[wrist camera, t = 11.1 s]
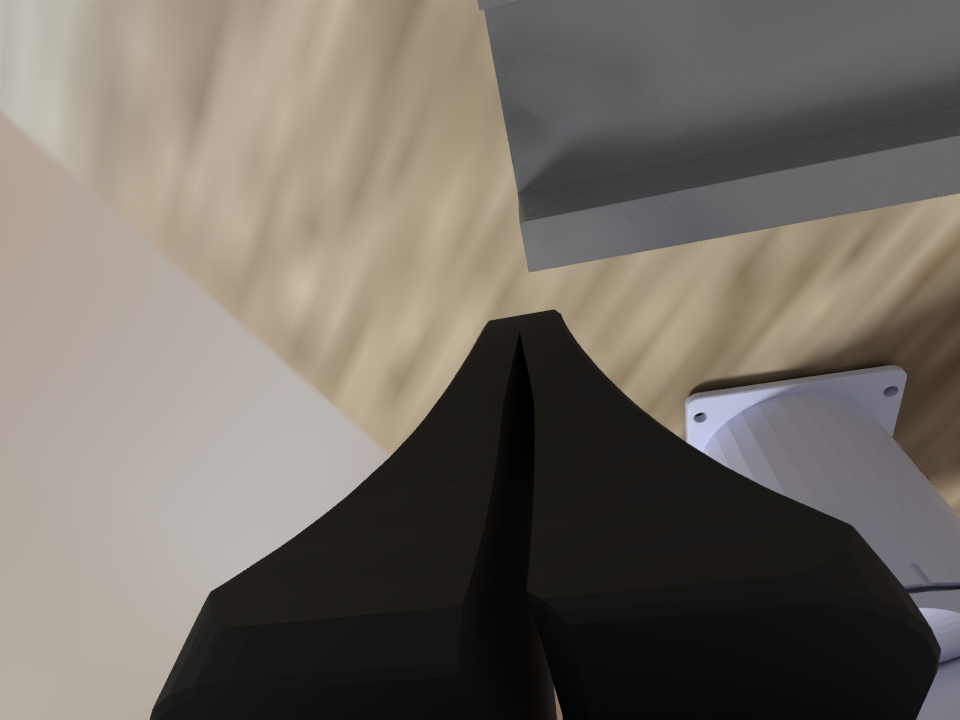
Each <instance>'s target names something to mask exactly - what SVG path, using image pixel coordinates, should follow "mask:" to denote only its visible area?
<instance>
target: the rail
mask: <svg viewBox="0 0 960 720" xmlns="http://www.w3.org/2000/svg"><path fill="white" fill-rule="evenodd" d="M478 4H479V10H482V9H484V12H485V17H486V22H487V28H488V33H489V39H490V44H491V49H492V55H493V60H494V66H495V71H496V77H497V82H498V87H499V93H500V98H501V104H502V109H503V114H504V120H505V125H506V131H507V136H508V141H509V147H510V152H511V158H512V163H513V169H514V174H515V179H516V185H517V190H518V201H519V220H520V227H521V232H522V238H523V243H524V248H525V254H526V259H527V264H528V269H529V272H534V271H539V270H545V269H550V268H556V267H561V266H566V265H572V264H577V263H583V262H588V261H594V260H599V259H604V258H610V257H615V256H621V255H626V254H632V253H637V252H643V251H648V250H653V249H659V248H664V247H670V246H675V245H681V244H686V243H692V242H697V241H702V240H708V239H713V238H719V237H724V236H730V235H735V234H740V233H746V232H751V231H757V230H762V229H768V228H773V227H779V226H784V225H789V224H795V223H800V222H806V221H811V220H817V219H822V218H828V217H833V216H838V215H844V214H849V213H855V212H860V211H866V210H871V209H876V208H882V207H887V206H893V205H898V204H904V203H909V202H915V201H920V200H925V199H931V198H936V197H942V196H947V195H953V194H958V193H960V0H478Z"/></svg>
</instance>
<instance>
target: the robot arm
mask: <svg viewBox="0 0 960 720" xmlns="http://www.w3.org/2000/svg"><path fill="white" fill-rule="evenodd" d="M906 380H907V374H906V373H905V371H904V370H903V369H902V368H901V367H899V366H896V365H888V366H881V367H874V368H867V369H860V370H853V371H846V372H840V373H833V374H826V375H819V376H812V377H805V378H798V379H791V380H784V381H777V382H770V383H763V384H756V385H749V386H742V387H735V388H728V389H721V390H714V391H707V392H700V393H696V394H693V395H691V396H690V397H688V399H687V400H686V403H685V421H686V442H685V441H684V440H682V439H681V438H679V437H678V436H676V435H675V434H674V433H672V432H671V431H670V430H668V429H667V428H665V427H664V426H663V425H661V424H660V423H658V422H657V421H656V420H655V419H653V418H652V417H651V416H650V415H648V414H647V413H646V412H645V411H643V410H642V409H641V408H640V407H639V406H637V405H636V404H635V403H634V402H633V401H632V400H631V399H629V398H628V397H627V396H626V395H625V394H624V393H623V392H622V391H621V390H620V389H619V388H618V387H617V386H616V385H615V384H614V383H613V382H612V381H611V380H610V379H608V377H607V376H606V375H605V374H604V373H603V372H602V371H601V370H600V369H599V368H598V367H597V366H596V364H595V363H594V362H593V361H592V360H591V359H590V357H589V356H588V355H587V354H586V353H585V351H584V350H583V349H582V348H581V346H580V345H579V344H578V342H577V341H576V340H575V338H574V337H573V335H572V334H571V332H570V331H569V329H568V328H567V326H566V324H565V322H564V320H563V318H562V315H561V314H560V313H559V312H557V311H556V310H549V311H543V312H537V313H531V314H525V315H520V316H514V317H508V318H502V319H496V320H491V321H489V322H488V323H487V324H486V326H485V327H484V329H483V330H482V332H481V334H480V336H479V337H478V339H477V341H476V343H475V345H474V346H473V348H472V350H471V351H470V353H469V355H468V356H467V358H466V360H465V361H464V363H463V365H462V366H461V368H460V369H459V371H458V372H457V374H456V375H455V377H454V378H453V380H452V382H451V383H450V385H449V386H448V388H447V389H446V390H445V392H444V393H443V395H442V396H441V397H440V399H439V400H438V401H437V403H436V404H435V405H434V407H433V408H432V409H431V411H430V412H429V413H428V415H427V416H426V417H425V419H424V420H423V421H422V422H421V424H420V425H419V426H418V427H417V428H416V430H415V431H414V432H413V433H412V434H411V435H410V436H409V437H408V438H407V440H406V441H405V442H404V443H403V444H402V445H401V446H400V447H399V448H398V449H397V450H396V451H395V452H394V453H393V454H392V455H391V456H390V457H389V458H388V459H387V460H386V461H385V462H384V463H383V464H382V465H381V466H380V467H379V468H378V469H377V470H375V471H374V472H373V473H372V474H371V475H370V476H369V477H368V478H367V479H366V480H364V481H363V482H362V483H361V484H360V485H359V486H358V487H357V488H356V489H355V490H353V491H352V492H351V493H350V494H349V495H348V496H347V497H346V498H344V499H343V500H342V501H341V502H339V503H338V504H337V505H336V506H334V507H333V508H332V509H331V510H329V511H328V512H327V513H326V514H324V515H323V516H322V517H320V518H319V519H318V520H316V521H315V522H314V523H313V524H311V525H310V526H308V527H307V528H306V529H305V530H303V531H302V532H301V533H299V534H298V535H296V536H295V537H294V538H292V539H291V540H289V541H288V542H287V543H285V544H284V545H282V546H281V547H279V548H278V549H276V550H275V551H273V552H272V553H270V554H269V555H267V556H266V557H264V558H263V559H261V560H260V561H258V562H256V563H255V564H253V565H252V566H250V567H249V568H247V569H246V570H244V571H243V572H241V573H240V574H238V575H237V576H235V577H234V578H232V579H231V580H229V581H228V582H226V583H224V584H223V585H221V586H219V587H218V588H216V589H214V590H213V591H211V592H210V594H209V596H208V598H207V599H206V601H205V603H204V605H203V607H202V609H201V611H200V613H199V615H198V617H197V619H196V621H195V623H194V625H193V627H192V629H191V631H190V633H189V635H188V637H187V639H186V641H185V644H184V646H183V648H182V650H181V652H180V654H179V656H178V658H177V660H176V662H175V664H174V666H173V668H172V671H171V672H170V674H169V677H168V679H167V681H166V683H165V685H164V687H163V689H162V691H161V693H160V695H159V697H158V699H157V701H156V703H155V705H154V708H153V710H152V713H151V717H150V720H557V714H556V704H555V694H554V687H555V690H556V693H557V697H558V701H559V704H560V707H561V711H562V715H563V720H960V517H959V516H958V515H957V514H956V512H955V511H954V510H953V509H952V508H951V506H950V505H949V504H948V503H947V502H946V501H945V499H944V498H943V497H942V496H941V495H940V493H939V492H938V491H937V490H936V489H935V488H934V486H933V485H932V484H931V483H930V482H929V480H928V479H927V478H926V477H925V476H924V474H923V473H922V472H921V471H920V470H919V469H918V467H917V466H916V465H915V464H914V463H913V461H912V460H911V459H910V458H909V457H908V455H907V454H906V453H905V452H904V451H903V450H902V448H901V447H900V446H899V445H898V444H897V442H896V441H895V440H894V439H893V438H892V437H893V433H894V429H895V425H896V421H897V417H898V413H899V409H900V405H901V401H902V396H903V392H904V388H905V384H906ZM888 387H890V388H889V389H888V390H885V389H886V388H888ZM884 390H885V391H884ZM698 413H703V414H702V415H700V416H695V415H696V414H698Z"/></svg>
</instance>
